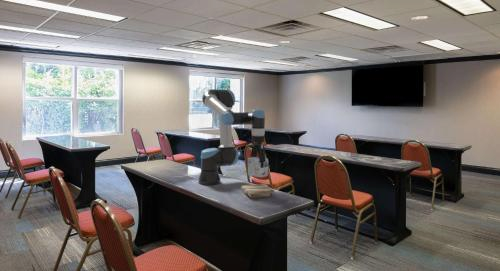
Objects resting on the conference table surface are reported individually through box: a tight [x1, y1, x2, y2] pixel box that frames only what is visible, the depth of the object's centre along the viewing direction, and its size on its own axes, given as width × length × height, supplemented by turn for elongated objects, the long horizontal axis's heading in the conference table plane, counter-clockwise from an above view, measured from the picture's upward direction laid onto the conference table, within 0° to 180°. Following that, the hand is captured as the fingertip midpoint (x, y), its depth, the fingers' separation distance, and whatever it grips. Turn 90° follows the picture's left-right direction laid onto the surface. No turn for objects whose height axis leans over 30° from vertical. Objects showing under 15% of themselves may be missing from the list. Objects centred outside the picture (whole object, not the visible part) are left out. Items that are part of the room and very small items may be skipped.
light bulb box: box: [247, 156, 269, 178], centre depth 203 cm, size 11×7×11 cm, turn 55°
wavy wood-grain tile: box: [240, 183, 275, 199], centre depth 204 cm, size 16×16×4 cm
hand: (257, 170), depth 203 cm, fingers closed on light bulb box, 12 cm apart
